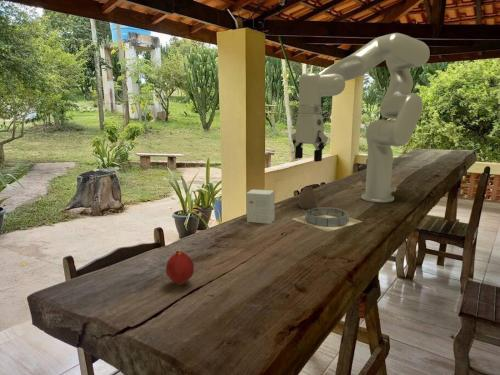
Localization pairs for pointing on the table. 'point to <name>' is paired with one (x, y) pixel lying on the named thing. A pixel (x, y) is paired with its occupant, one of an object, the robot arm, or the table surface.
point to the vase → (308, 198)
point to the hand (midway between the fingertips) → (308, 159)
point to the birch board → (350, 222)
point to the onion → (180, 268)
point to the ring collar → (327, 222)
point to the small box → (260, 206)
